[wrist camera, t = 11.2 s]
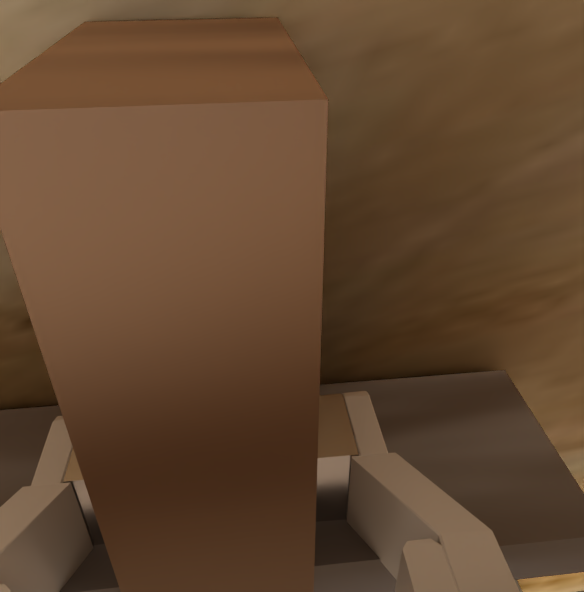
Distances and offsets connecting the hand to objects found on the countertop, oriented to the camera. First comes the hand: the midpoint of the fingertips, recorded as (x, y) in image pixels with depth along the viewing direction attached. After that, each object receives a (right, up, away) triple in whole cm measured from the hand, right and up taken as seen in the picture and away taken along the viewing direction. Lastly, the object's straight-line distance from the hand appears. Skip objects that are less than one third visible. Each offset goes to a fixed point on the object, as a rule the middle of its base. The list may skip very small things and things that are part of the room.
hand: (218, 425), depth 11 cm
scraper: (0, +3, 0) cm, 3 cm away
